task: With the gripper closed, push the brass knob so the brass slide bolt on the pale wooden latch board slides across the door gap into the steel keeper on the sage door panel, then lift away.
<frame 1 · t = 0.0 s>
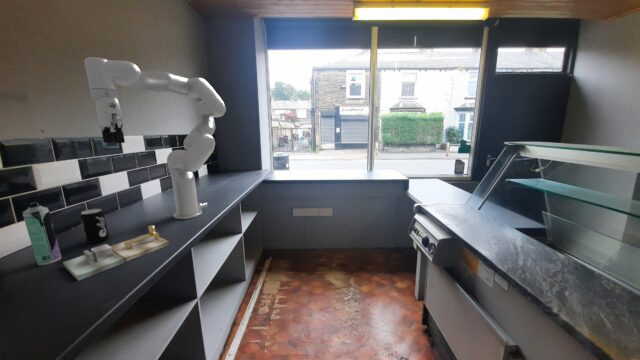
hand: (114, 142, 95), 37 cm above the countertop, tool pointing down, fingers open, 9 cm apart
bolt: (141, 235, 90), point 4 cm above the countertop, slide at 0.0 cm
latch board: (120, 254, 85), on the countertop
beverage can: (98, 241, 97), on the countertop
spray can: (49, 261, 83), on the countertop
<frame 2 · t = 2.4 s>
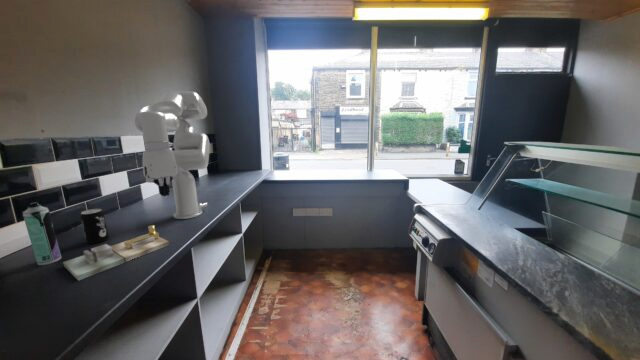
hand: (165, 195, 95), 17 cm above the countertop, tool pointing down, fingers closed
nothing on the countertop moved.
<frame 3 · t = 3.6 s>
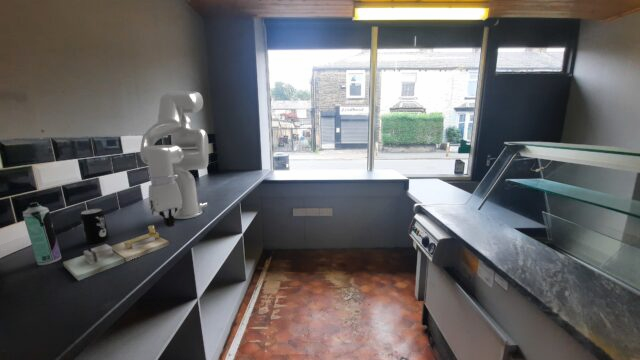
hand: (170, 225, 98), 4 cm above the countertop, tool pointing down, fingers closed
nothing on the countertop moved.
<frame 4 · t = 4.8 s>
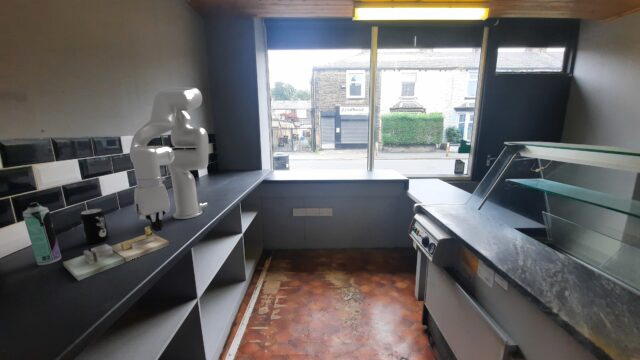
hand: (157, 229, 94), 4 cm above the countertop, tool pointing down, fingers closed
bolt: (138, 237, 89), point 4 cm above the countertop, slide at 1.1 cm, touching gripper
everything else where it was.
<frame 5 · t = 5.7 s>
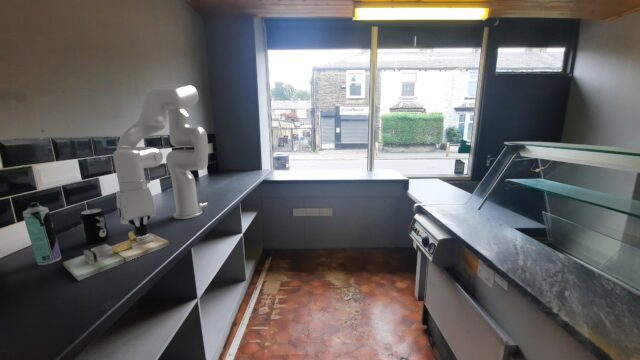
hand: (142, 235, 90), 4 cm above the countertop, tool pointing down, fingers closed
bolt: (120, 242, 85), point 4 cm above the countertop, slide at 6.3 cm, touching gripper
everything else where it was.
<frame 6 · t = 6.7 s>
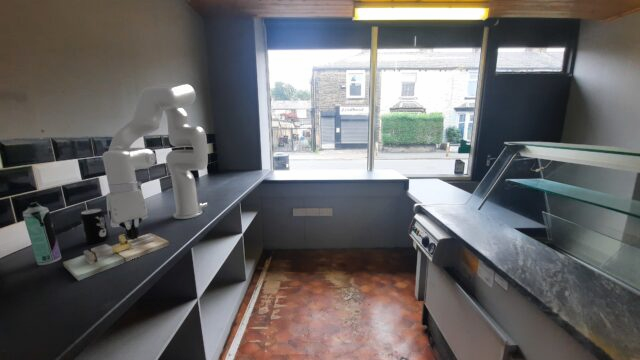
hand: (133, 238, 88), 4 cm above the countertop, tool pointing down, fingers closed
bolt: (110, 246, 83), point 4 cm above the countertop, slide at 9.0 cm, touching gripper
everything else where it was.
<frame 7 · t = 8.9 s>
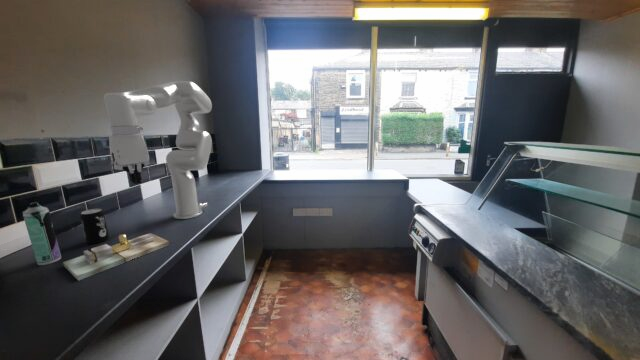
hand: (136, 183, 90), 23 cm above the countertop, tool pointing down, fingers closed
bolt: (110, 246, 83), point 4 cm above the countertop, slide at 9.0 cm
everything else where it was.
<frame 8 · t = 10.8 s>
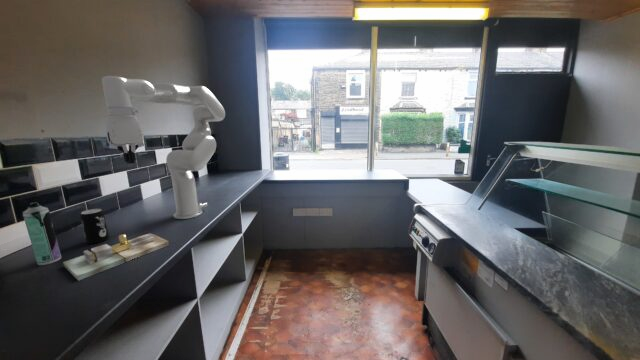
hand: (130, 162, 95), 29 cm above the countertop, tool pointing down, fingers closed
nothing on the countertop moved.
at the end: bolt slide at 9.0 cm; beverage can moved 0.2 cm from its start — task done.
